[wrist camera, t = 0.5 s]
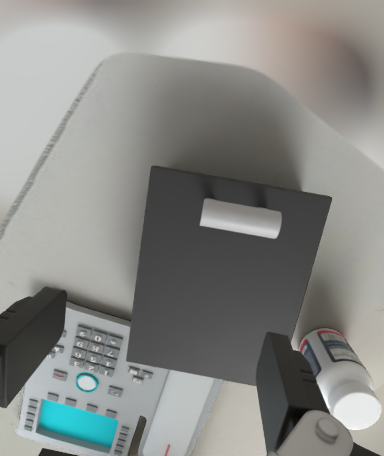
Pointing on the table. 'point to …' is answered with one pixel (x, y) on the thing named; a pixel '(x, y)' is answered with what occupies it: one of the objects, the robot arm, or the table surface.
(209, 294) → the lid
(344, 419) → the pill bottle
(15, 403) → the table surface
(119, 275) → the table surface
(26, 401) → the office telephone
